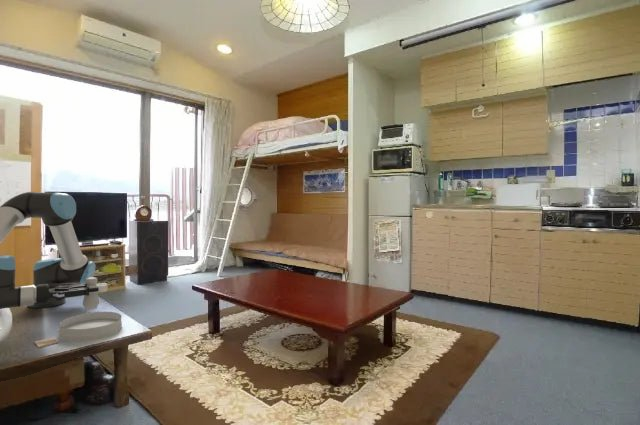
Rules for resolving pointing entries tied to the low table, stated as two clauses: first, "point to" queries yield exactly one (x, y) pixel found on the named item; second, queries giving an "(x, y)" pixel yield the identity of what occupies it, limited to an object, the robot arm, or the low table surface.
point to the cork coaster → (46, 342)
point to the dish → (90, 326)
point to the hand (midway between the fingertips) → (106, 287)
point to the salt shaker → (91, 295)
